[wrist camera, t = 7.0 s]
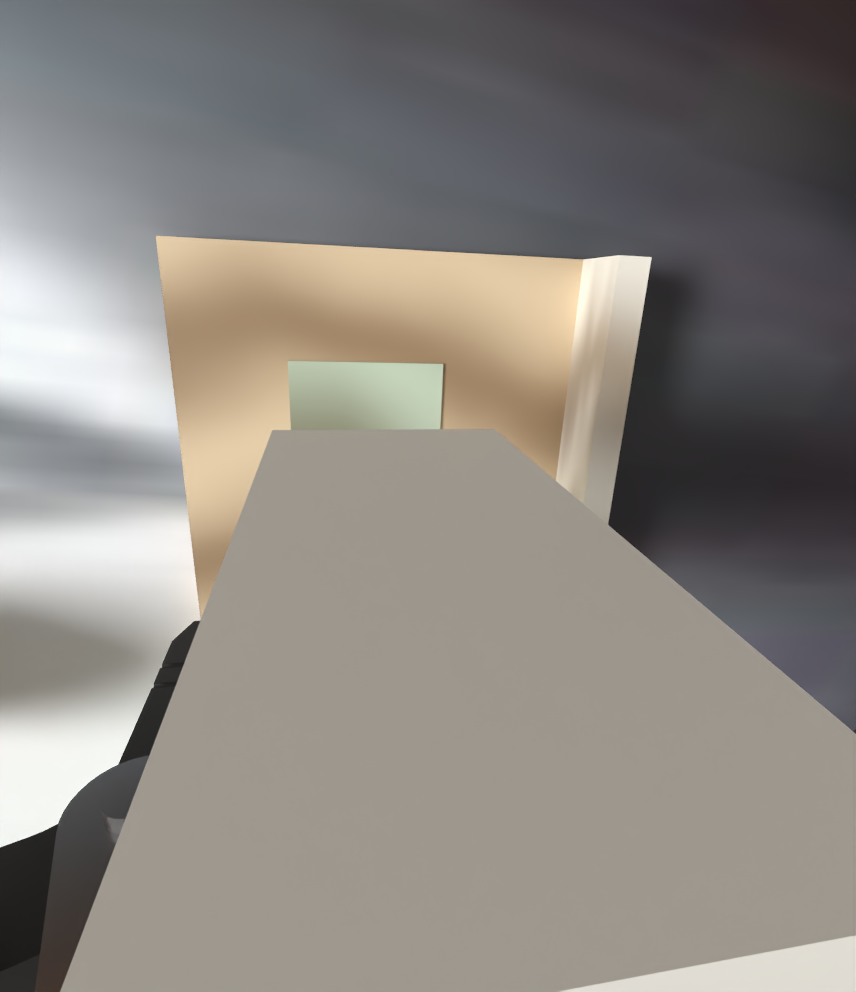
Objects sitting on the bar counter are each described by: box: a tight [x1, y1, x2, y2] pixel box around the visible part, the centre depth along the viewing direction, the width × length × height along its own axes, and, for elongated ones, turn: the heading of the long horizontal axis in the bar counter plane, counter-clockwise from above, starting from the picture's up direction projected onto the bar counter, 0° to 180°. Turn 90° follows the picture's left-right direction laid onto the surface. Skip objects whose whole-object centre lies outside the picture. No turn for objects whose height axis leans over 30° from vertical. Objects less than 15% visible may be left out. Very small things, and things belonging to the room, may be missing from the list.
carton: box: [60, 429, 856, 992], centre depth 7 cm, size 6×4×9 cm
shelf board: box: [156, 236, 652, 618], centre depth 20 cm, size 22×14×3 cm, turn 178°
